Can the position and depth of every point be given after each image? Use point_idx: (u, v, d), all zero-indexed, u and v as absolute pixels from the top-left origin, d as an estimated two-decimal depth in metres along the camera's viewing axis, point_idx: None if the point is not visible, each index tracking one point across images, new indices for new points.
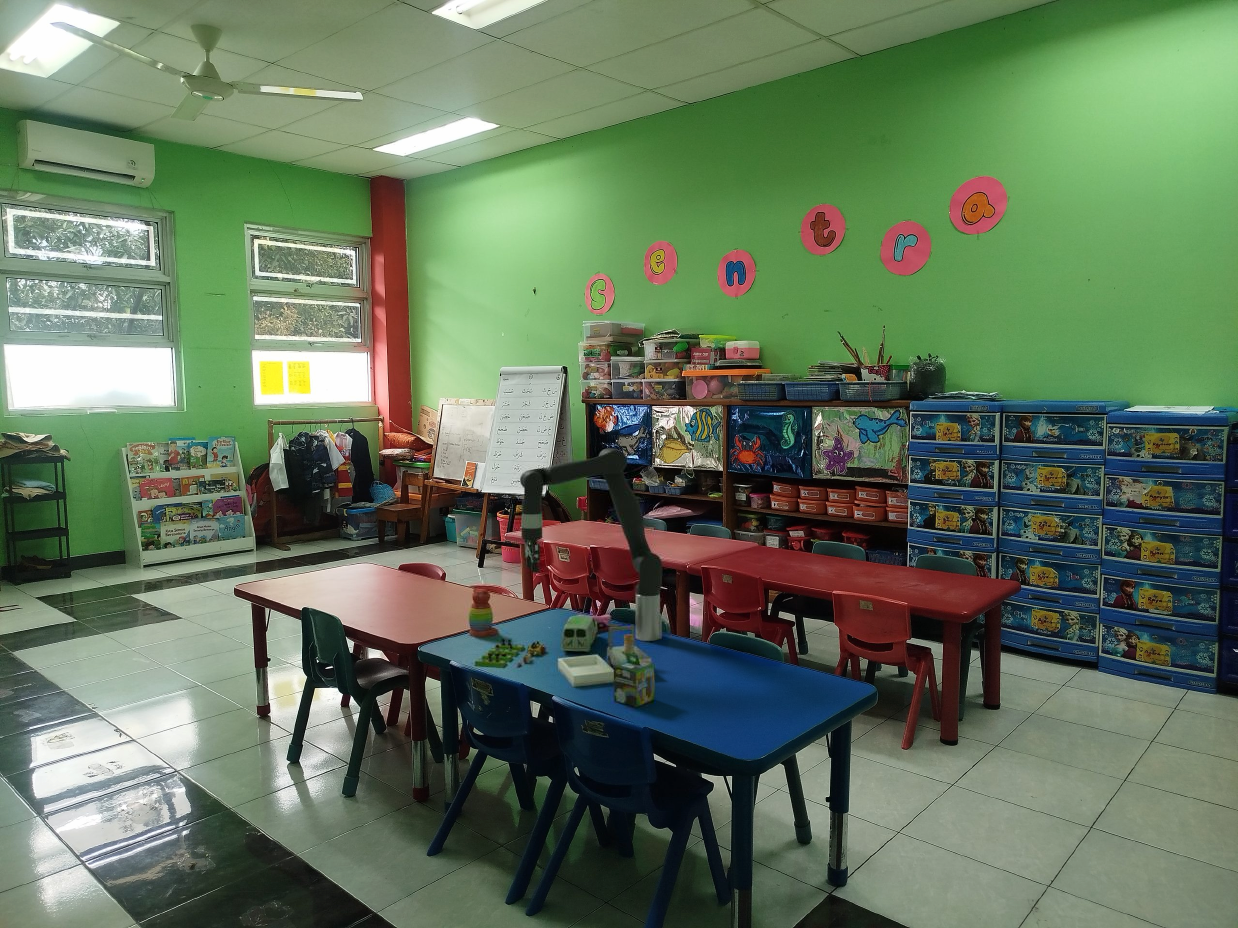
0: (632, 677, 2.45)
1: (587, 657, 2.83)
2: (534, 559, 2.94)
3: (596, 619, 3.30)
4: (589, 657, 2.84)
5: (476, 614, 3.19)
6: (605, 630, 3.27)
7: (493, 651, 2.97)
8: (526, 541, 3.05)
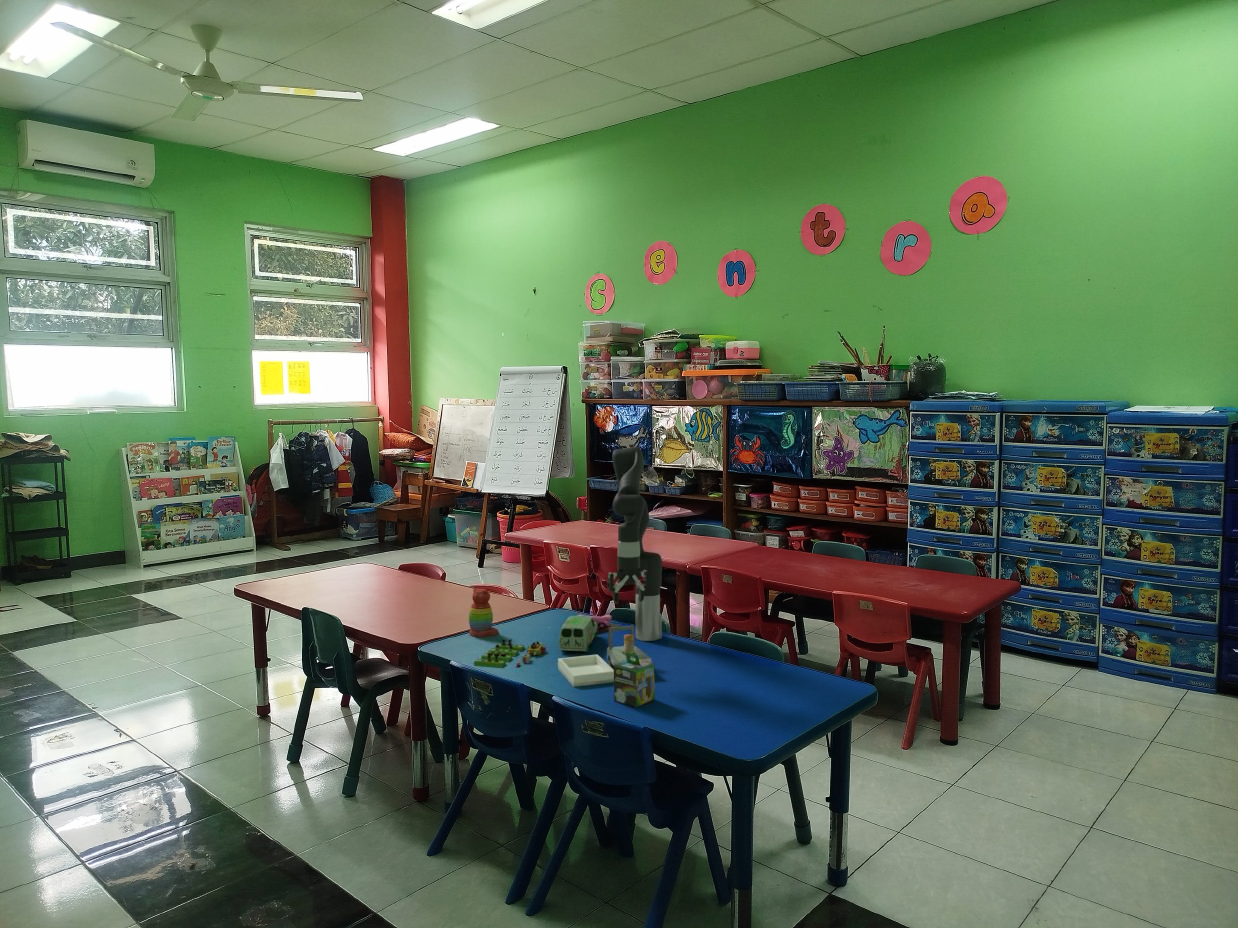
0: (632, 677, 2.45)
1: (587, 657, 2.83)
2: None
3: (596, 619, 3.30)
4: (589, 657, 2.84)
5: (476, 614, 3.19)
6: (605, 630, 3.26)
7: (493, 651, 2.97)
8: None
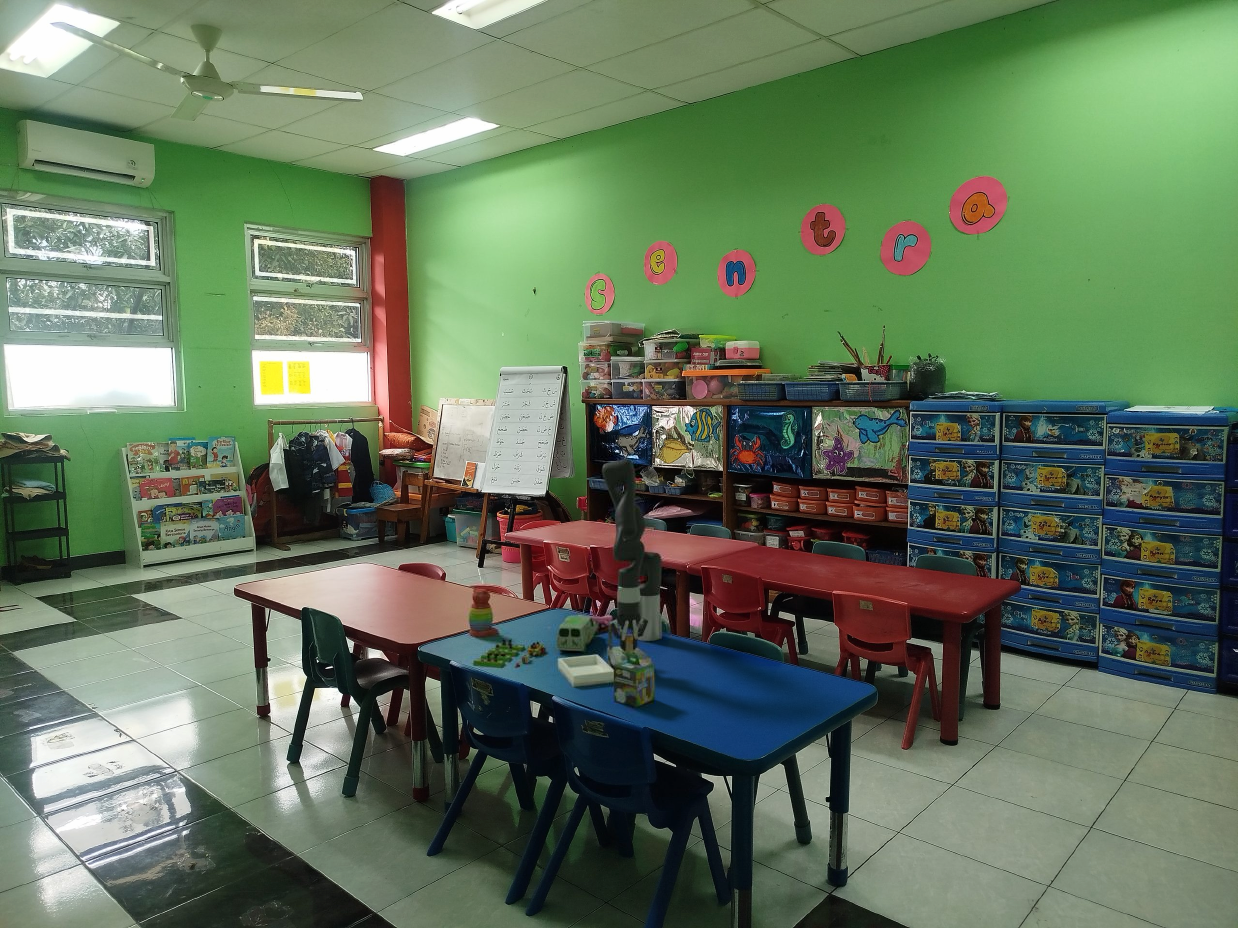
0: (632, 677, 2.45)
1: (587, 657, 2.83)
2: None
3: (596, 620, 3.29)
4: (589, 657, 2.84)
5: (476, 614, 3.19)
6: (605, 631, 3.26)
7: (493, 651, 2.97)
8: (614, 623, 2.76)
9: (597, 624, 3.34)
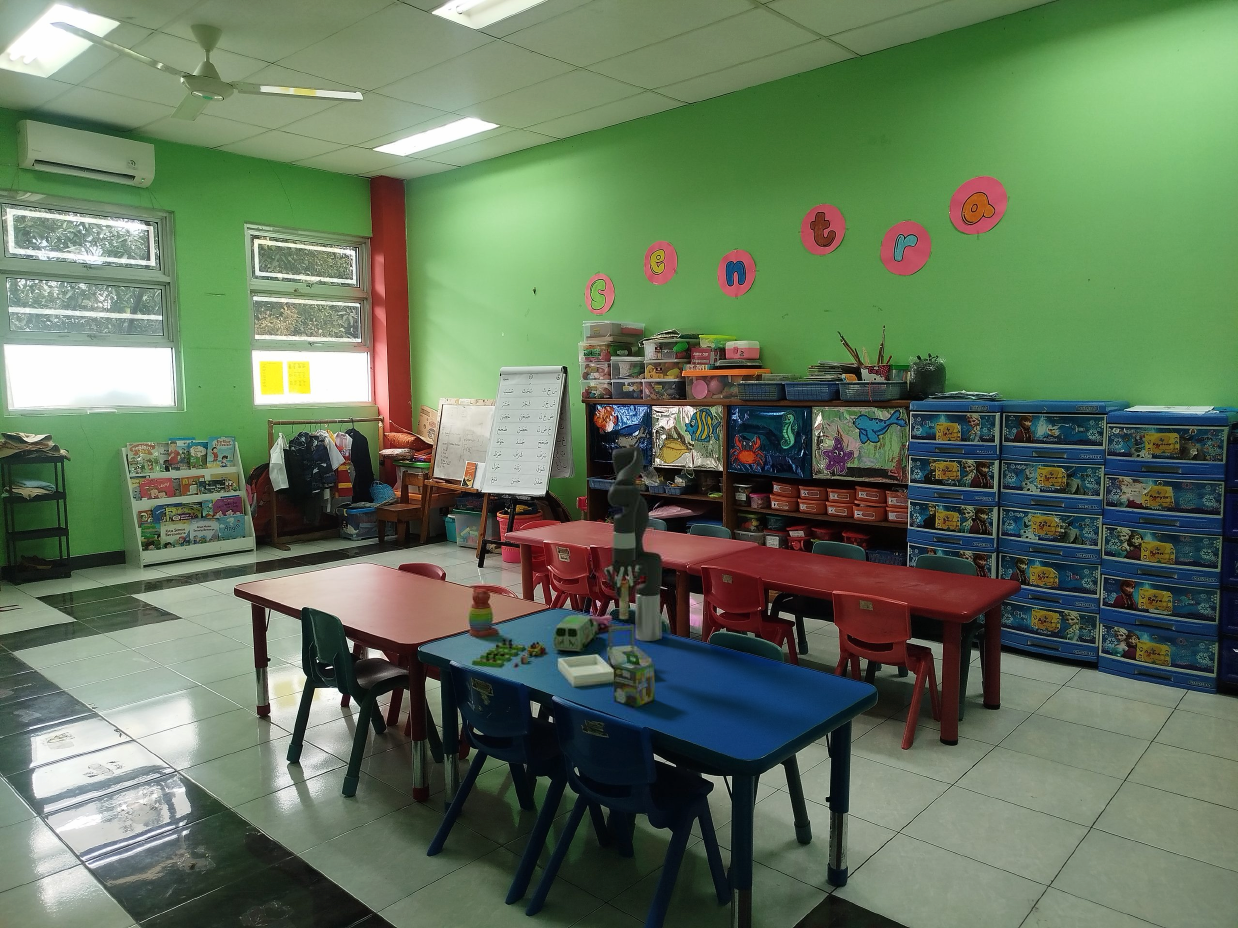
0: (632, 677, 2.45)
1: (587, 657, 2.83)
2: None
3: (596, 620, 3.29)
4: (589, 657, 2.84)
5: (476, 614, 3.19)
6: (605, 631, 3.26)
7: (493, 651, 2.97)
8: (609, 570, 2.74)
9: (597, 624, 3.34)
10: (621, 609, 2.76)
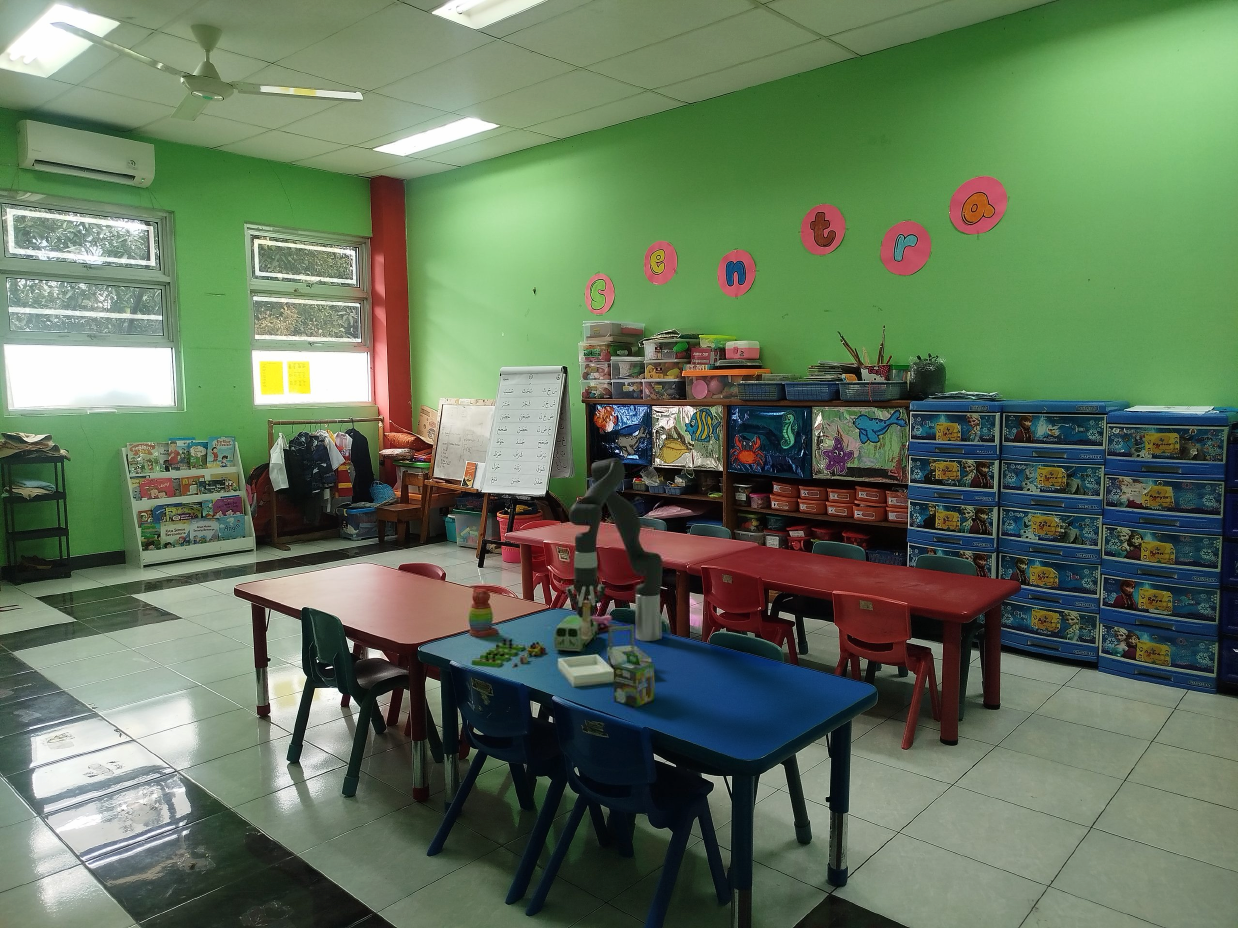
0: (632, 677, 2.45)
1: (587, 657, 2.83)
2: None
3: (596, 620, 3.29)
4: (589, 657, 2.84)
5: (476, 614, 3.19)
6: (605, 631, 3.26)
7: (493, 650, 2.98)
8: (570, 589, 2.70)
9: None
10: (583, 629, 2.72)
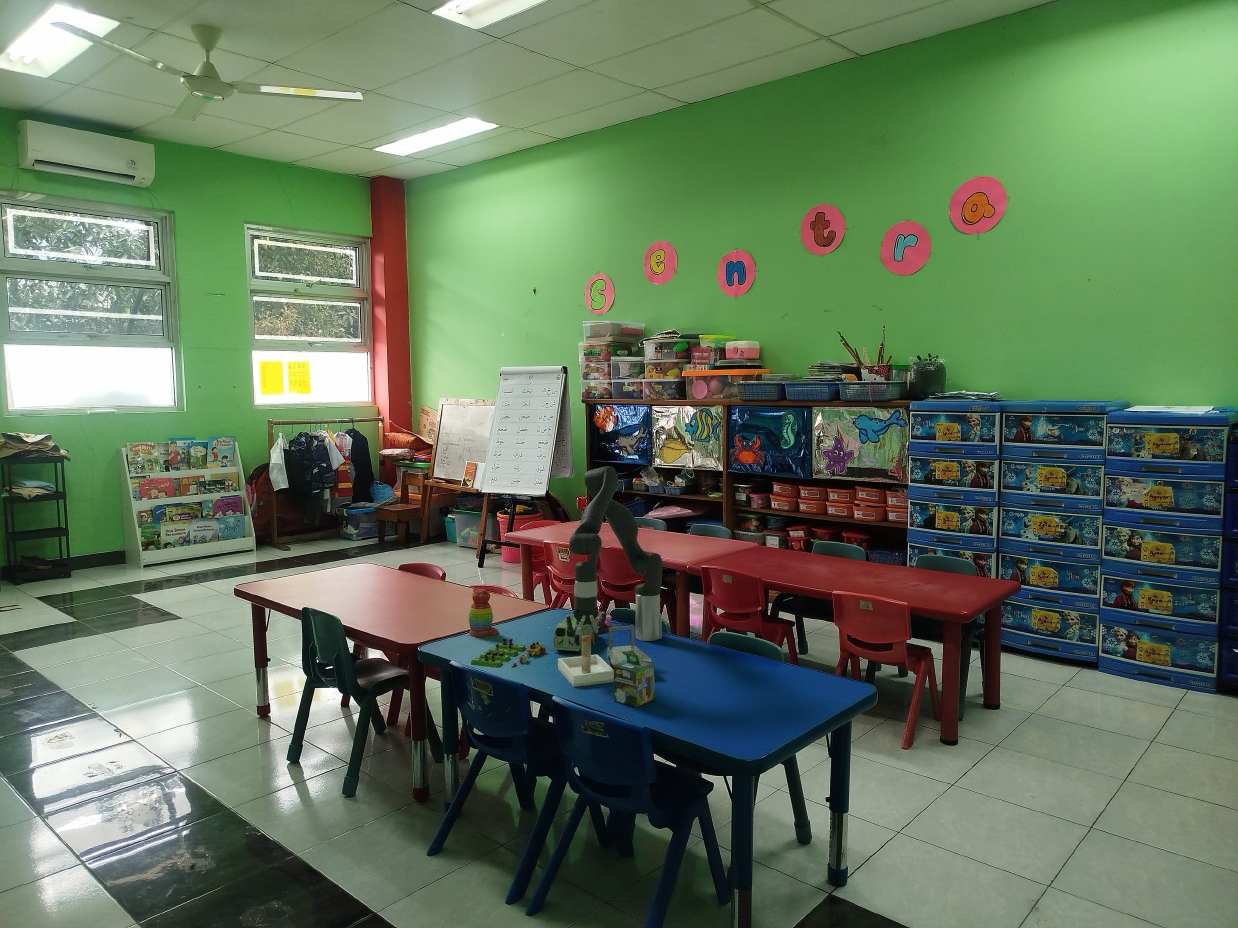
0: (632, 677, 2.45)
1: None
2: None
3: (596, 620, 3.29)
4: None
5: (476, 614, 3.19)
6: (605, 631, 3.26)
7: (492, 650, 2.98)
8: (570, 617, 2.71)
9: None
10: (583, 663, 2.73)
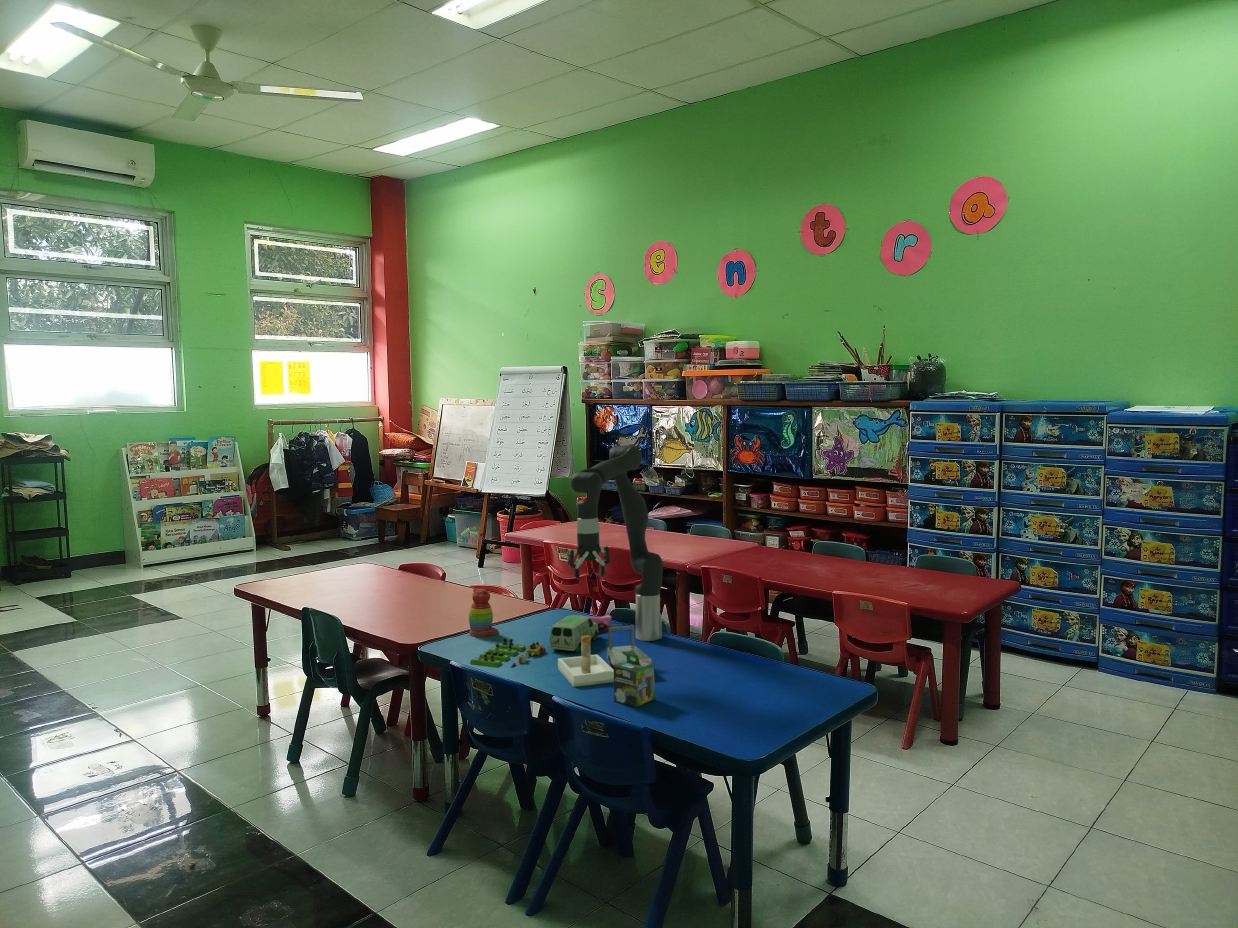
0: (632, 677, 2.45)
1: None
2: None
3: (596, 620, 3.29)
4: None
5: (476, 614, 3.19)
6: (605, 631, 3.25)
7: (492, 650, 2.98)
8: None
9: None
10: (583, 664, 2.73)
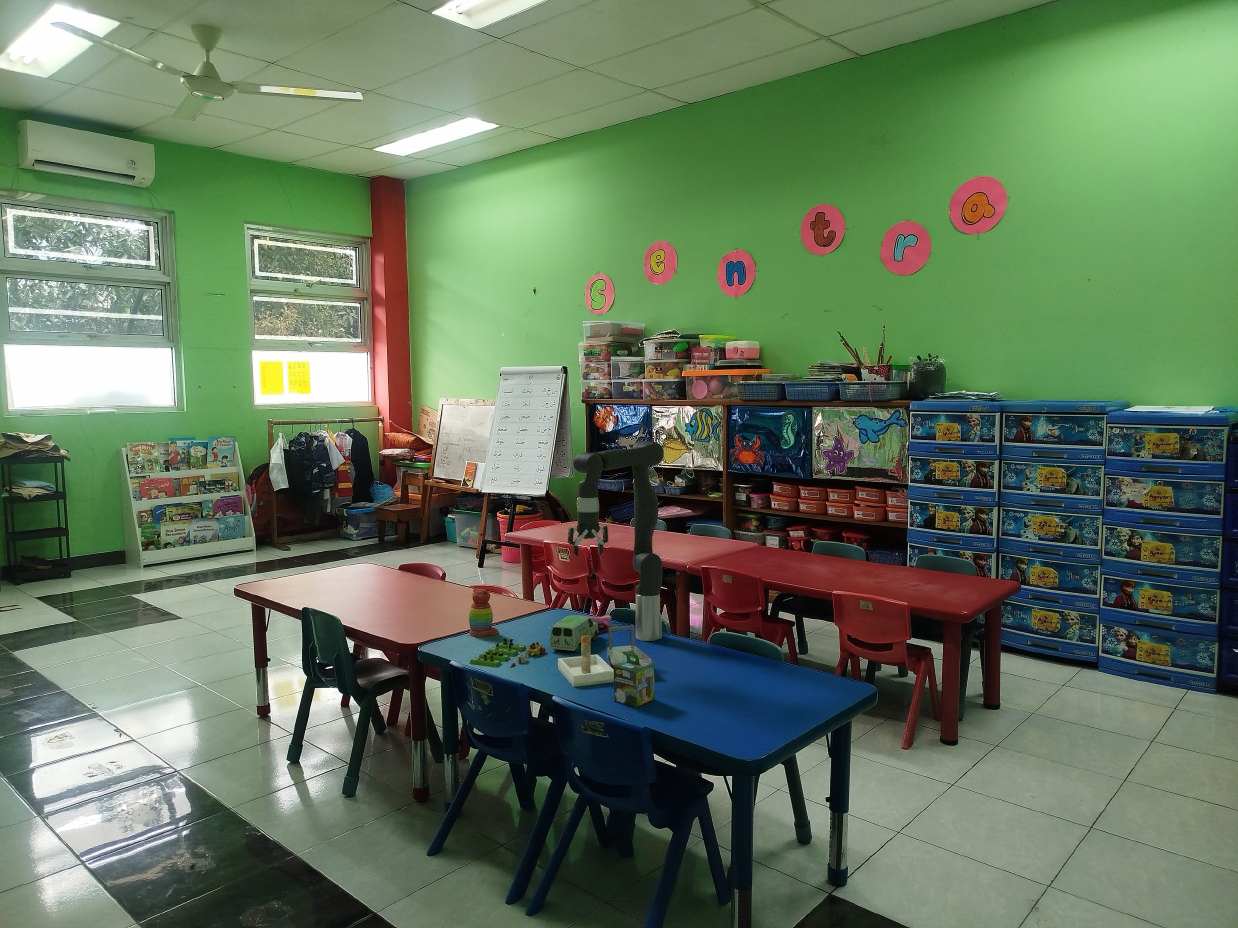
0: (632, 677, 2.45)
1: None
2: None
3: (596, 620, 3.29)
4: None
5: (476, 614, 3.19)
6: (605, 631, 3.26)
7: (492, 650, 2.98)
8: None
9: None
10: (583, 664, 2.73)
